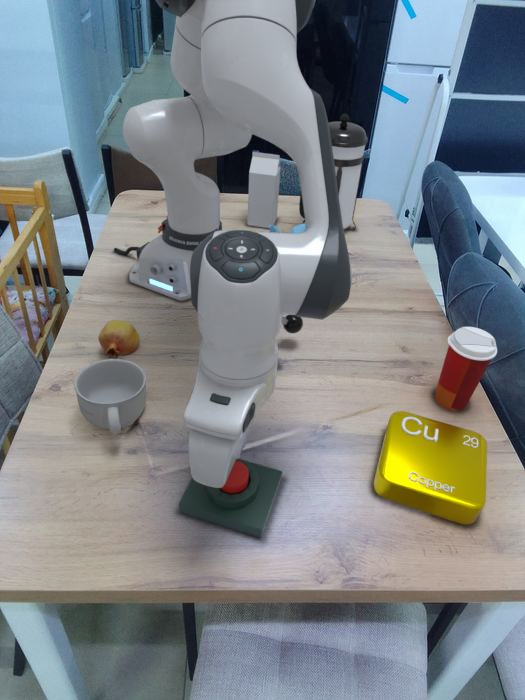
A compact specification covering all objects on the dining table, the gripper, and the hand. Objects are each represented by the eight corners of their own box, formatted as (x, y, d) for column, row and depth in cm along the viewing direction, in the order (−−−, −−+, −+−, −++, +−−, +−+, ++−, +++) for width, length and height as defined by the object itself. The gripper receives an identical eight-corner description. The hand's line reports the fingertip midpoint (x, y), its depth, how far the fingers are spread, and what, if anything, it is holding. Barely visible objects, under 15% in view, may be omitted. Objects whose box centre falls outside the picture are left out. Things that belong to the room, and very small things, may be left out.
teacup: (89, 391, 88) (81, 357, 83) (152, 390, 89) (148, 355, 84) (73, 456, 77) (62, 420, 72) (145, 453, 78) (139, 418, 73)
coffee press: (300, 213, 148) (312, 102, 129) (355, 218, 147) (375, 108, 128) (295, 240, 135) (307, 122, 116) (355, 247, 134) (377, 128, 115)
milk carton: (272, 229, 139) (277, 159, 127) (247, 225, 140) (249, 156, 128) (276, 218, 145) (281, 151, 133) (252, 215, 146) (255, 147, 133)
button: (212, 488, 70) (212, 481, 69) (223, 464, 73) (223, 456, 72) (242, 498, 69) (242, 490, 68) (252, 472, 72) (252, 465, 71)
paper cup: (472, 391, 93) (499, 331, 84) (472, 420, 87) (500, 359, 78) (429, 380, 95) (451, 320, 86) (426, 408, 89) (448, 346, 80)
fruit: (103, 309, 97) (85, 341, 89) (136, 305, 96) (121, 336, 88) (116, 338, 101) (100, 370, 93) (148, 334, 100) (135, 366, 92)
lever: (290, 327, 99) (301, 312, 97) (299, 339, 96) (310, 323, 95) (232, 309, 90) (242, 292, 88) (239, 321, 87) (250, 303, 86)
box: (179, 512, 71) (178, 495, 68) (207, 458, 78) (206, 441, 76) (261, 538, 68) (262, 522, 66) (281, 480, 76) (283, 463, 73)
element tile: (370, 495, 74) (376, 475, 71) (387, 424, 85) (393, 404, 82) (475, 530, 71) (487, 510, 68) (479, 451, 82) (489, 432, 79)
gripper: (242, 317, 66) (240, 392, 75) (175, 427, 51) (182, 505, 60) (288, 327, 65) (280, 402, 74) (234, 443, 50) (232, 521, 59)
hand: (236, 449), depth 67 cm, fingers closed
